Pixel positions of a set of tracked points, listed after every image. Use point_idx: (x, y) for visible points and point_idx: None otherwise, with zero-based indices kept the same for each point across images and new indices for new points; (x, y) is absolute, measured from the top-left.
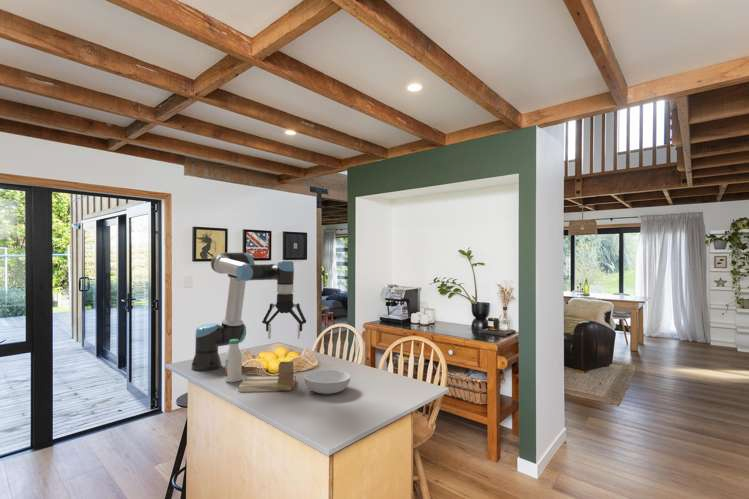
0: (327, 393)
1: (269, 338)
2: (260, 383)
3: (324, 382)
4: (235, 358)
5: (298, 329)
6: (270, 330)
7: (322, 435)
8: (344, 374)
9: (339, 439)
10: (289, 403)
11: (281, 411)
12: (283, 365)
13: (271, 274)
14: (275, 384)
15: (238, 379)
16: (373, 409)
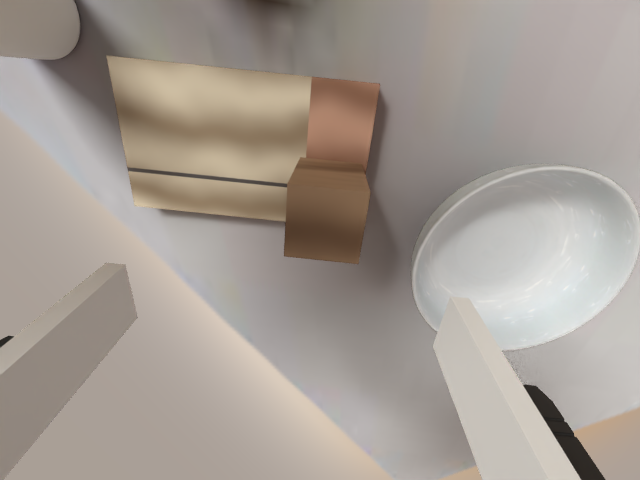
0: (476, 300)
1: (132, 320)
2: (215, 185)
3: (505, 187)
4: None
5: (482, 455)
6: (62, 360)
7: (404, 462)
8: (624, 223)
9: (431, 476)
10: (343, 326)
11: (323, 367)
12: (311, 257)
13: None
14: (284, 208)
15: (72, 41)
16: (564, 394)
